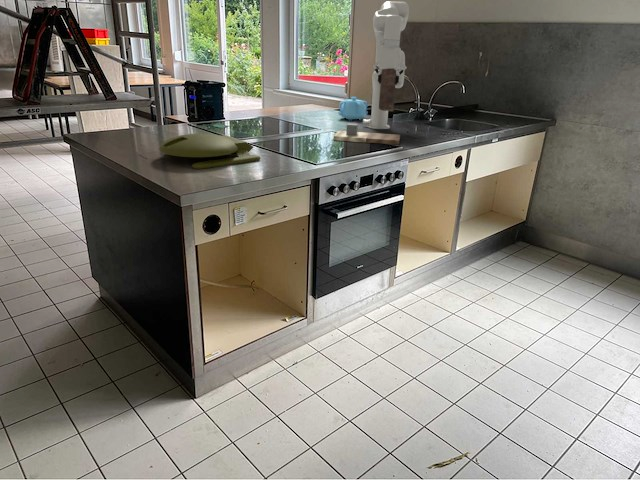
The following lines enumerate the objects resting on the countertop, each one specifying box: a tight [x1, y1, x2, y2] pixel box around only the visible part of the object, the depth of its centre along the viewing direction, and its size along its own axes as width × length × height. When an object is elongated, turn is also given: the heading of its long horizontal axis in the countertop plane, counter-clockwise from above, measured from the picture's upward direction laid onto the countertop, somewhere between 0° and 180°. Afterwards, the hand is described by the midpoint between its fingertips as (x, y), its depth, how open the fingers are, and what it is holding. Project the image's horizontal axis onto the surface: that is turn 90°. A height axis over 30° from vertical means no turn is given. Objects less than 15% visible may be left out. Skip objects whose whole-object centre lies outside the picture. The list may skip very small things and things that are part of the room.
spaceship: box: [158, 133, 261, 170], centre depth 193 cm, size 35×31×10 cm
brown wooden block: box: [379, 68, 396, 112], centre depth 233 cm, size 8×7×20 cm
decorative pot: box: [337, 96, 369, 121], centre depth 302 cm, size 20×20×14 cm
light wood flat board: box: [333, 130, 401, 146], centre depth 244 cm, size 32×16×2 cm, turn 80°
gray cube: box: [345, 122, 359, 136], centre depth 243 cm, size 5×5×5 cm
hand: (388, 83), depth 232 cm, fingers closed on brown wooden block, 7 cm apart
